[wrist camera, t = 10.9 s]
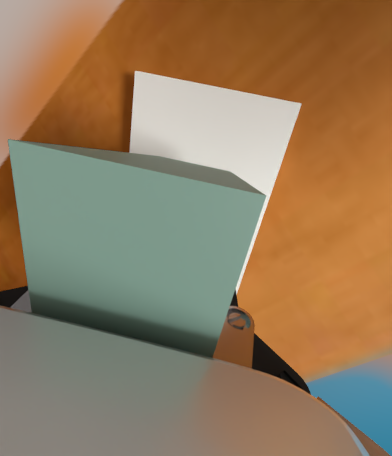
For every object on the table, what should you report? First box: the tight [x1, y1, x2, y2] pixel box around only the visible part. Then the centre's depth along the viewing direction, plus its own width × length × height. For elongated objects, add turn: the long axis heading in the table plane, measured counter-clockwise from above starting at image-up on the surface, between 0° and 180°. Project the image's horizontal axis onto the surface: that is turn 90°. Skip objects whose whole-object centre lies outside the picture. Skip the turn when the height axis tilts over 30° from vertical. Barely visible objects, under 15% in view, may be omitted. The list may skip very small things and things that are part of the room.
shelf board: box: [129, 71, 301, 294], centre depth 17 cm, size 12×20×2 cm, turn 169°
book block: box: [8, 139, 266, 358], centre depth 9 cm, size 4×12×9 cm, turn 169°
